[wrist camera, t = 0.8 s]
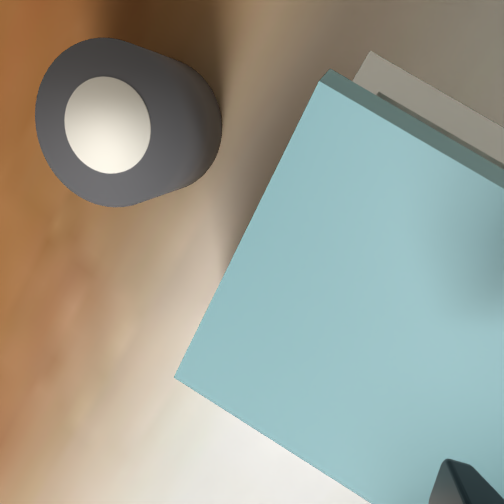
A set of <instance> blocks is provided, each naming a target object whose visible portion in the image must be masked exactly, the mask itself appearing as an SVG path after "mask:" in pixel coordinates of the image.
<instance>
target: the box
mask: <svg viewBox="0 0 504 504" xmlns="http://www.w3.org/2000/svg"><path fill="white" fill-rule="evenodd" d="M352 82H354V83H356V84H358V85H359V86H361V87H363V88H364V89H366V90H368V91H370V92H371V93H373V94H375V95H377V96H378V97H380V98H382V99H383V100H385V101H387V102H389V103H390V104H392V105H394V106H395V107H397V108H399V109H401V110H402V111H404V112H406V113H407V114H409V115H411V116H413V117H414V118H416V119H418V120H420V121H421V122H423V123H425V124H426V125H428V126H430V127H432V128H433V129H435V130H437V131H438V132H440V133H442V134H444V135H445V136H447V137H449V138H450V139H452V140H454V141H456V142H457V143H459V144H461V145H463V146H464V147H466V148H468V149H469V150H471V151H473V152H475V153H476V154H478V155H480V156H481V157H483V158H485V159H487V160H488V161H490V162H492V163H493V164H495V165H497V166H499V167H500V168H502V169H504V127H502V126H500V125H499V124H497V123H495V122H493V121H492V120H490V119H488V118H486V117H485V116H483V115H481V114H479V113H478V112H476V111H474V110H472V109H471V108H469V107H467V106H466V105H464V104H462V103H460V102H459V101H457V100H455V99H453V98H452V97H450V96H448V95H446V94H445V93H443V92H441V91H439V90H438V89H436V88H434V87H433V86H431V85H429V84H427V83H426V82H424V81H422V80H420V79H419V78H417V77H415V76H413V75H412V74H410V73H408V72H406V71H405V70H403V69H401V68H400V67H398V66H396V65H394V64H393V63H391V62H389V61H387V60H386V59H384V58H382V57H380V56H379V55H377V54H375V53H374V52H372V51H370V52H369V53H368V55H367V57H366V58H365V60H364V62H363V64H362V65H361V67H360V69H359V70H358V72H357V74H356V75H355V77H354V79H353V81H352Z"/></svg>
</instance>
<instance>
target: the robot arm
mask: <svg viewBox="0 0 504 504" xmlns="http://www.w3.org/2000/svg"><path fill="white" fill-rule="evenodd" d="M428 504H504V499H503V497H502V496H501V495H500V494H499V493H498V492H497V491H496V490H495V489H494V488H493V487H492V486H491V485H490V484H489V483H488V482H487V481H486V480H485V479H484V478H483V477H482V476H481V475H480V473H479V472H478V471H477V470H476V469H475V468H474V467H473V466H471V465H470V464H467V463H463V462H460V461H456V460H453V459H449V458H447V459H445V460H444V461H443V462H442V464H441V466H440V469H439V472H438V474H437V477H436V480H435V483H434V486H433V489H432V492H431V495H430V498H429V503H428Z"/></svg>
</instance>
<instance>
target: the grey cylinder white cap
mask: <svg viewBox="0 0 504 504" xmlns="http://www.w3.org/2000/svg"><path fill="white" fill-rule="evenodd" d="M35 121H36V130H37V136H38V140H39V143H40V147H41V150H42V152H43V154H44V157H45V159H46V161H47V162H48V164H49V166H50V168H51V169H52V171H53V172H54V173H55V175H56V176H57V177H58V178H59V180H60V181H61V182H62V183H63V184H64V185H65V186H66V187H67V188H68V189H70V190H71V191H72V192H74V193H75V194H76V195H78V196H79V197H81V198H83V199H85V200H87V201H89V202H92V203H95V204H98V205H102V206H107V207H126V206H131V205H135V204H138V203H141V202H143V201H146V200H149V199H152V198H155V197H158V196H161V195H164V194H166V193H169V192H172V191H175V190H178V189H181V188H184V187H186V186H188V185H190V184H192V183H194V182H195V181H197V180H198V179H199V178H200V177H202V176H203V175H204V174H205V173H206V171H207V170H208V169H209V168H210V166H211V165H212V163H213V161H214V160H215V157H216V155H217V153H218V150H219V146H220V142H221V136H222V120H221V113H220V108H219V105H218V102H217V99H216V97H215V95H214V93H213V91H212V89H211V88H210V86H209V85H208V83H207V82H206V81H205V80H204V79H203V77H202V76H201V75H200V74H199V73H197V72H196V71H195V70H194V69H192V68H191V67H189V66H188V65H186V64H184V63H182V62H180V61H177V60H175V59H172V58H169V57H167V56H164V55H161V54H158V53H156V52H153V51H150V50H148V49H145V48H142V47H139V46H137V45H134V44H131V43H128V42H125V41H122V40H119V39H113V38H94V39H89V40H85V41H82V42H79V43H77V44H75V45H73V46H71V47H70V48H68V49H67V50H65V51H64V52H63V53H61V54H60V55H59V56H58V57H57V58H56V59H55V60H54V62H53V63H52V64H51V66H50V67H49V68H48V70H47V72H46V74H45V75H44V77H43V80H42V82H41V84H40V87H39V91H38V95H37V100H36V108H35Z"/></svg>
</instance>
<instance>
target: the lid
mask: <svg viewBox="0 0 504 504" xmlns="http://www.w3.org/2000/svg"><path fill="white" fill-rule="evenodd" d="M174 378H175V379H177V380H179V381H180V382H182V383H183V384H185V385H186V386H188V387H190V388H191V389H193V390H194V391H196V392H197V393H199V394H201V395H202V396H204V397H205V398H207V399H208V400H210V401H212V402H213V403H215V404H216V405H218V406H219V407H221V408H222V409H224V410H226V411H227V412H229V413H230V414H232V415H233V416H235V417H237V418H238V419H240V420H241V421H243V422H244V423H246V424H248V425H249V426H251V427H252V428H254V429H255V430H257V431H259V432H260V433H262V434H263V435H265V436H266V437H268V438H270V439H271V440H273V441H274V442H276V443H277V444H279V445H281V446H282V447H284V448H285V449H287V450H288V451H290V452H291V453H293V454H295V455H296V456H298V457H299V458H301V459H302V460H304V461H306V462H307V463H309V464H310V465H312V466H313V467H315V468H317V469H318V470H320V471H321V472H323V473H324V474H326V475H328V476H329V477H331V478H332V479H334V480H335V481H337V482H339V483H340V484H342V485H343V486H345V487H346V488H348V489H350V490H351V491H353V492H354V493H356V494H357V495H359V496H361V497H362V498H364V499H365V500H367V501H368V502H370V503H371V504H428V503H429V498H430V495H431V492H432V489H433V486H434V483H435V480H436V477H437V474H438V472H439V469H440V466H441V464H442V462H443V461H444V460H445V459H447V458H449V459H453V460H456V461H460V462H463V463H467V464H470V465H471V466H473V467H474V468H475V469H476V470H477V471H478V472H479V473H480V475H481V476H482V477H483V478H484V479H485V480H486V481H487V482H488V483H489V484H490V485H491V486H492V487H493V488H494V489H495V490H496V491H497V492H498V493H499V494H500V495H501V496H502V497H503V499H504V169H502V168H500V167H499V166H497V165H495V164H493V163H492V162H490V161H488V160H487V159H485V158H483V157H481V156H480V155H478V154H476V153H475V152H473V151H471V150H469V149H468V148H466V147H464V146H463V145H461V144H459V143H457V142H456V141H454V140H452V139H450V138H449V137H447V136H445V135H444V134H442V133H440V132H438V131H437V130H435V129H433V128H432V127H430V126H428V125H426V124H425V123H423V122H421V121H420V120H418V119H416V118H414V117H413V116H411V115H409V114H407V113H406V112H404V111H402V110H401V109H399V108H397V107H395V106H394V105H392V104H390V103H389V102H387V101H385V100H383V99H382V98H380V97H378V96H377V95H375V94H373V93H371V92H370V91H368V90H366V89H364V88H363V87H361V86H359V85H358V84H356V83H354V82H352V81H351V80H349V79H347V78H346V77H344V76H342V75H340V74H339V73H337V72H335V71H334V70H332V69H329V70H328V72H327V73H326V74H325V75H324V76H323V77H322V78H321V79H320V81H319V82H318V84H317V86H316V88H315V90H314V92H313V94H312V96H311V99H310V101H309V103H308V105H307V107H306V109H305V111H304V113H303V115H302V117H301V119H300V121H299V123H298V125H297V127H296V129H295V131H294V133H293V135H292V137H291V139H290V141H289V143H288V145H287V147H286V150H285V152H284V154H283V156H282V158H281V160H280V162H279V164H278V166H277V168H276V170H275V172H274V174H273V176H272V178H271V180H270V182H269V184H268V186H267V188H266V190H265V192H264V194H263V196H262V198H261V200H260V203H259V205H258V207H257V209H256V211H255V213H254V215H253V217H252V219H251V221H250V223H249V225H248V227H247V229H246V231H245V233H244V235H243V237H242V239H241V241H240V243H239V245H238V247H237V249H236V251H235V254H234V256H233V258H232V260H231V262H230V264H229V266H228V268H227V270H226V272H225V274H224V276H223V278H222V280H221V282H220V284H219V286H218V288H217V290H216V292H215V294H214V296H213V298H212V300H211V302H210V305H209V307H208V309H207V311H206V313H205V315H204V317H203V319H202V321H201V323H200V325H199V327H198V329H197V331H196V333H195V335H194V337H193V339H192V341H191V343H190V345H189V347H188V349H187V351H186V353H185V356H184V358H183V360H182V362H181V364H180V366H179V368H178V370H177V372H176V374H175V376H174Z"/></svg>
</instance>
